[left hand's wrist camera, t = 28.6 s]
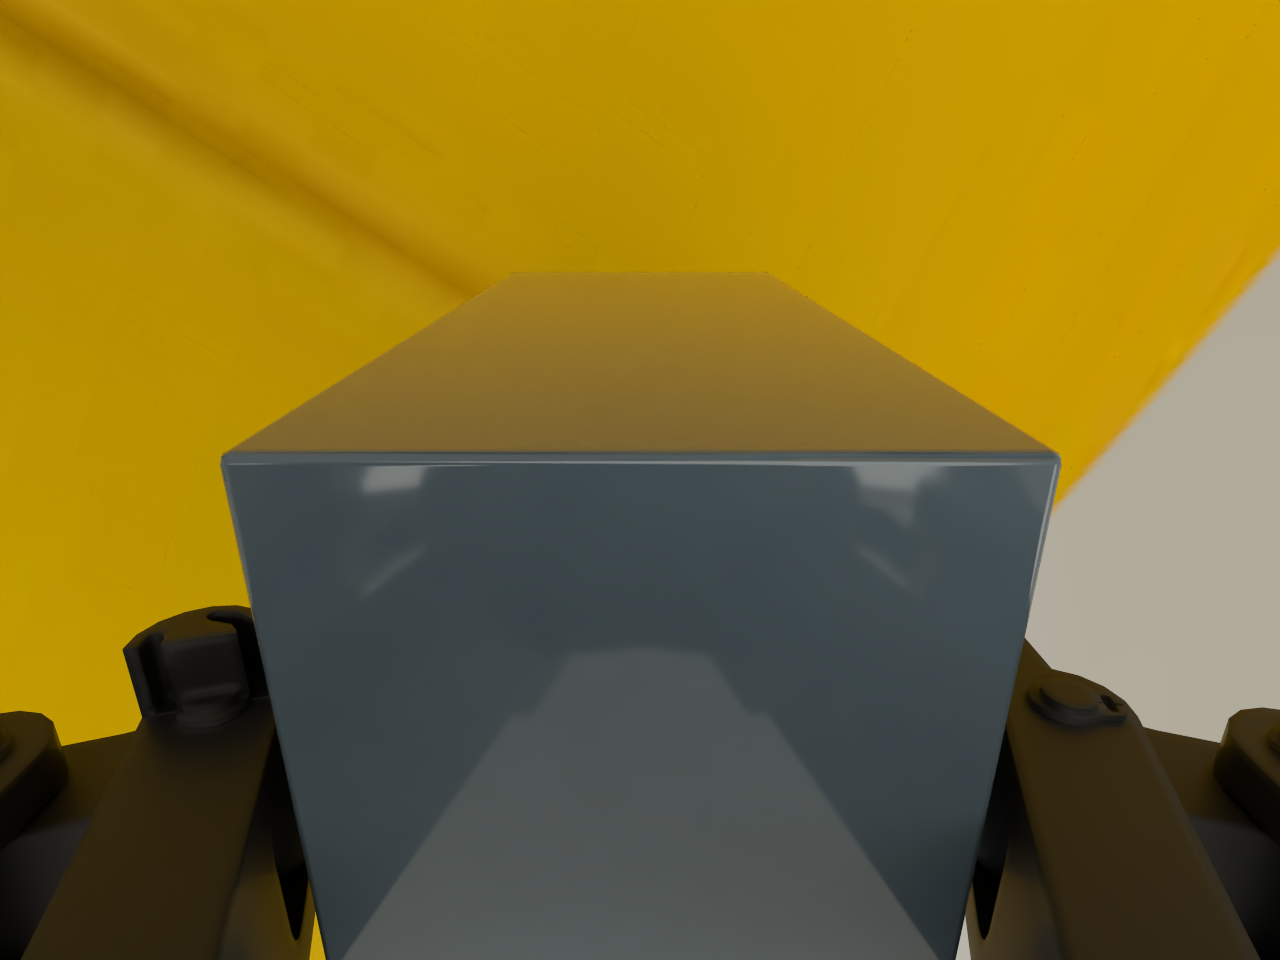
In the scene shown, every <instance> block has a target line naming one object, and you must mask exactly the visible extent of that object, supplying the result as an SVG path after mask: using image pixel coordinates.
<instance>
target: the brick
mask: <svg viewBox="0 0 1280 960" xmlns="http://www.w3.org/2000/svg"><path fill="white" fill-rule="evenodd" d="M220 467H221V472H222V476H223V481H224V486H225V490H226V495H227V500H228V504H229V509H230V514H231V518H232V523H233V528H234V532H235V537H236V542H237V546H238V551H239V556H240V560H241V565H242V570H243V574H244V579H245V584H246V588H247V593H248V598H249V602H250V607H251V612H252V616H253V621H254V626H255V630H256V635H257V640H258V644H259V649H260V654H261V658H262V663H263V668H264V672H265V677H266V682H267V686H268V691H269V696H270V701H271V705H272V710H273V715H274V719H275V724H276V729H277V733H278V738H279V743H280V747H281V752H282V757H283V761H284V766H285V771H286V775H287V780H288V785H289V789H290V794H291V799H292V803H293V808H294V813H295V817H296V822H297V827H298V831H299V836H300V841H301V845H302V850H303V855H304V859H305V864H306V869H307V873H308V878H309V883H310V887H311V892H312V897H313V901H314V906H315V911H316V915H317V920H318V925H319V929H320V934H321V939H322V943H323V948H324V953H325V957H326V960H955V959H956V954H957V950H958V945H959V940H960V936H961V931H962V926H963V922H964V917H965V912H966V908H967V903H968V898H969V894H970V889H971V884H972V880H973V875H974V870H975V866H976V861H977V856H978V852H979V847H980V842H981V838H982V833H983V828H984V824H985V819H986V814H987V810H988V805H989V800H990V796H991V791H992V786H993V782H994V777H995V772H996V768H997V763H998V758H999V754H1000V749H1001V744H1002V740H1003V735H1004V730H1005V726H1006V721H1007V716H1008V712H1009V707H1010V702H1011V697H1012V693H1013V688H1014V683H1015V679H1016V674H1017V669H1018V665H1019V660H1020V655H1021V651H1022V646H1023V641H1024V637H1025V632H1026V627H1027V623H1028V618H1029V613H1030V609H1031V604H1032V599H1033V595H1034V590H1035V585H1036V581H1037V576H1038V571H1039V567H1040V562H1041V557H1042V553H1043V548H1044V543H1045V539H1046V534H1047V529H1048V525H1049V520H1050V515H1051V511H1052V506H1053V501H1054V497H1055V492H1056V487H1057V483H1058V478H1059V473H1060V469H1061V459H1060V455H1059V453H1058V452H1056V451H1055V450H1053V449H1051V448H1050V447H1048V446H1047V445H1045V444H1043V443H1042V442H1040V441H1038V440H1037V439H1035V438H1034V437H1032V436H1030V435H1029V434H1027V433H1026V432H1024V431H1022V430H1021V429H1019V428H1017V427H1016V426H1014V425H1013V424H1011V423H1009V422H1008V421H1006V420H1005V419H1003V418H1001V417H1000V416H998V415H996V414H995V413H993V412H992V411H990V410H988V409H987V408H985V407H984V406H982V405H980V404H979V403H977V402H976V401H974V400H972V399H971V398H969V397H967V396H966V395H964V394H963V393H961V392H959V391H958V390H956V389H955V388H953V387H951V386H950V385H948V384H946V383H945V382H943V381H942V380H940V379H938V378H937V377H935V376H934V375H932V374H930V373H929V372H927V371H925V370H924V369H922V368H921V367H919V366H917V365H916V364H914V363H913V362H911V361H909V360H908V359H906V358H904V357H903V356H901V355H900V354H898V353H896V352H895V351H893V350H892V349H890V348H888V347H887V346H885V345H884V344H882V343H880V342H879V341H877V340H875V339H874V338H872V337H871V336H869V335H867V334H866V333H864V332H863V331H861V330H859V329H858V328H856V327H854V326H853V325H851V324H850V323H848V322H846V321H845V320H843V319H842V318H840V317H838V316H837V315H835V314H833V313H832V312H830V311H829V310H827V309H825V308H824V307H822V306H821V305H819V304H817V303H816V302H814V301H813V300H811V299H809V298H808V297H806V296H804V295H803V294H801V293H800V292H798V291H796V290H795V289H793V288H792V287H790V286H788V285H787V284H785V283H783V282H782V281H780V280H779V279H777V278H775V277H774V276H772V275H771V274H769V273H767V272H641V273H511V274H510V275H508V276H506V277H505V278H503V279H502V280H500V281H498V282H497V283H495V284H494V285H492V286H490V287H489V288H487V289H486V290H484V291H482V292H481V293H479V294H478V295H476V296H474V297H473V298H471V299H470V300H468V301H466V302H465V303H463V304H462V305H460V306H458V307H457V308H455V309H454V310H452V311H450V312H449V313H447V314H446V315H444V316H442V317H441V318H439V319H438V320H436V321H434V322H433V323H431V324H429V325H428V326H426V327H425V328H423V329H421V330H420V331H418V332H417V333H415V334H413V335H412V336H410V337H409V338H407V339H405V340H404V341H402V342H401V343H399V344H397V345H396V346H394V347H393V348H391V349H389V350H388V351H386V352H385V353H383V354H381V355H380V356H378V357H377V358H375V359H373V360H372V361H370V362H369V363H367V364H365V365H364V366H362V367H360V368H359V369H357V370H356V371H354V372H352V373H351V374H349V375H348V376H346V377H344V378H343V379H341V380H340V381H338V382H336V383H335V384H333V385H332V386H330V387H328V388H327V389H325V390H324V391H322V392H320V393H319V394H317V395H316V396H314V397H312V398H311V399H309V400H308V401H306V402H304V403H303V404H301V405H300V406H298V407H296V408H295V409H293V410H292V411H290V412H288V413H287V414H285V415H283V416H282V417H280V418H279V419H277V420H275V421H274V422H272V423H271V424H269V425H267V426H266V427H264V428H263V429H261V430H259V431H258V432H256V433H255V434H253V435H251V436H250V437H248V438H247V439H245V440H243V441H242V442H240V443H239V444H237V445H235V446H234V447H232V448H231V449H229V450H227V451H226V452H224V453H223V454H222V457H221V462H220Z"/></svg>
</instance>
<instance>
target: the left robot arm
mask: <svg viewBox="0 0 1280 960" xmlns="http://www.w3.org/2000/svg"><path fill="white" fill-rule="evenodd" d="M123 653H124V656H125V660H126V663H127V667H128V670H129V673H130V677H131V680H132V684H133V687H134V691H135V694H136V697H137V701H138V704H139V708H140V711H141V715H142V719H141V721H140V723H139V725H138V727H137V729H136V731H133V732H129V733H125V734H120V735H115V736H110V737H105V738H100V739H95V740H90V741H85V742H80V743H75V744H70V745H65V746H61V744H60V741H59V738H58V735H57V732H56V729H55V726H54V723H53V721H51V720H50V719H48V718H47V717H46V716H44V715H43V714H41V713H34V712H25V711H15V712H8V713H0V960H309V957H310V949H311V941H312V934H313V926H314V918H315V906H314V901H313V897H312V892H311V887H310V883H309V878H308V873H307V869H306V864H305V859H304V855H303V850H302V845H301V841H300V836H299V831H298V827H297V822H296V817H295V813H294V808H293V803H292V799H291V794H290V789H289V785H288V780H287V775H286V771H285V766H284V761H283V757H282V752H281V747H280V743H279V738H278V733H277V729H276V724H275V719H274V715H273V710H272V705H271V701H270V696H269V691H268V686H267V682H266V677H265V672H264V668H263V663H262V658H261V654H260V649H259V644H258V640H257V635H256V630H255V626H254V621H253V616H252V612H251V608H248V607H243V606H237V605H234V606H212V607H207V608H202V609H198V610H193V611H188V612H184V613H181V614H179V615H176V616H173V617H171V618H168V619H165V620H163V621H160V622H158V623H156V624H154V625H153V626H151V627H149V628H147V629H146V630H144V631H142V632H141V633H139V634H137V635H136V636H135V637H134V638H133V639H132V640H131V641H130V642H129V643H128V644H127V645H126V646H125V647H124V648H123ZM965 916H966V924H967V932H968V939H969V947H970V955H971V960H1280V710H1277V709H1269V708H1254V709H1245V710H1240V711H1239V712H1237V713H1236V714H1234V715H1233V716H1232V717H1230V718H1229V720H1228V723H1227V725H1226V728H1225V731H1224V734H1223V737H1222V740H1221V743H1217V742H1212V741H1207V740H1202V739H1197V738H1192V737H1187V736H1182V735H1177V734H1172V733H1167V732H1162V731H1157V730H1153V729H1149V728H1145V727H1143V726H1142V724H1141V722H1140V720H1139V718H1138V716H1137V715H1136V714H1135V713H1134V711H1133V710H1132V709H1131V708H1130V706H1129V705H1128V704H1127V703H1126V702H1125V701H1124V700H1123V699H1121V698H1120V697H1119V696H1117V695H1116V694H1114V693H1113V692H1111V691H1110V690H1108V689H1107V688H1105V687H1104V686H1102V685H1099V684H1097V683H1095V682H1092V681H1090V680H1088V679H1085V678H1083V677H1081V676H1078V675H1074V674H1070V673H1066V672H1062V671H1058V670H1054V669H1051V668H1050V666H1049V665H1048V664H1047V663H1046V662H1045V661H1044V659H1043V658H1042V657H1041V656H1040V655H1039V654H1038V653H1037V651H1036V650H1035V649H1034V648H1033V647H1032V646H1031V644H1030V643H1029V642H1028V641H1027V640H1026V639H1025V637H1024V641H1023V646H1022V651H1021V655H1020V660H1019V665H1018V669H1017V674H1016V679H1015V683H1014V688H1013V693H1012V697H1011V702H1010V707H1009V712H1008V716H1007V721H1006V726H1005V730H1004V735H1003V740H1002V744H1001V749H1000V754H999V758H998V763H997V768H996V772H995V777H994V782H993V786H992V791H991V796H990V800H989V805H988V810H987V814H986V819H985V824H984V828H983V833H982V838H981V842H980V847H979V852H978V856H977V861H976V866H975V870H974V875H973V880H972V884H971V889H970V894H969V898H968V903H967V908H966V912H965Z"/></svg>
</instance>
